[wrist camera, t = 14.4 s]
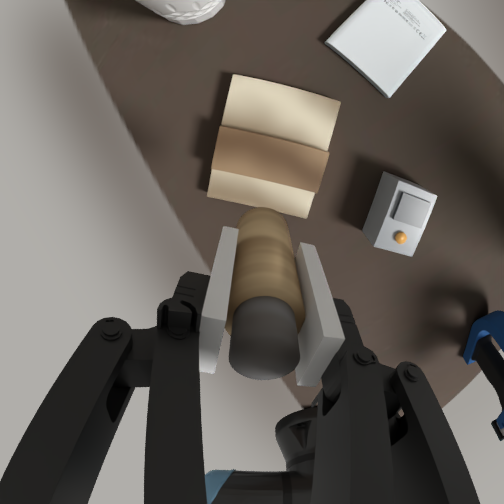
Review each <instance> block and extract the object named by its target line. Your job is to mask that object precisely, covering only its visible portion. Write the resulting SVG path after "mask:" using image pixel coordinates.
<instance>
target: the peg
mask: <svg viewBox="0 0 504 504" xmlns="http://www.w3.org/2000/svg"><path fill="white" fill-rule="evenodd" d="M236 229H239V231H238V238H237V245H236V252H235V259H234V266H233V274H232V281H231V288H230V296H229V303H228V311H227V318H226V324H225V329H226V331H227V332H228V334H229V335H230V336H231V340H230V350H229V362H230V364H231V366H232V368H234V370H235V371H236V372H238V373H239V374H241V375H243V376H245V377H248V378H251V379H258V380H270V379H276V378H280V377H283V376H285V375H287V374H289V373H290V372H292V371H293V370H294V369H295V368H296V367H297V365H298V364H299V361H300V350H299V342H298V334H299V332H300V330H301V328H302V325H303V323H304V321H305V310H304V304H303V299H302V294H301V289H300V284H299V278H298V273H297V268H296V263H295V258H294V254H293V249H292V244H291V239H290V234H289V230H288V225H287V222H286V220H285V219H284V217H283V216H282V215H281V214H280V213H279V212H277V211H276V210H274V209H271V208H267V207H258V208H254V209H251V210H249V211H247V212H246V213H245V214H243V215H242V216H241V218H240V219H239V221H238V223H237V227H236Z"/></svg>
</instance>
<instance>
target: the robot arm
mask: <svg viewBox="0 0 504 504" xmlns="http://www.w3.org/2000/svg"><path fill="white" fill-rule="evenodd" d="M238 231H239V229H235V228H230V227H226V226H223V230H222V234H221V237H220V241H219V245H218V249H217V253H216V257H215V261H214V265H213V269H212V273H211V276H208V275H204V274H198V273H194V272H189V271H188V272H186V273H185V274H184V275H183V276H181V277H180V280H179V282H178V285H177V287H176V290H175V293H174V295H173V297H172V298H170V299H166V300H164V301H163V302H162V303H160V305H159V307H158V309H157V326H155V327H153V328H149V329H131V327H130V326H129V324H128V323H127V322H126V321H124V320H121V319H120V318H114V317H109V318H103V319H101V320H99V321H97V322H96V323H95V324H94V325H93V326H92V328H91V329H90V330H89V332H88V333H87V335H86V336H85V338H84V339H83V340H82V342H81V343H80V345H79V346H78V348H77V349H76V351H75V352H74V354H73V355H72V357H71V358H70V359H69V361H68V363H67V364H66V366H65V367H64V369H63V370H62V372H61V373H60V375H59V376H58V378H57V380H56V381H55V383H54V384H53V386H52V387H51V389H50V391H49V392H48V394H47V395H46V397H45V399H44V400H43V402H42V404H41V405H40V407H39V409H38V410H37V412H36V414H35V416H34V418H33V419H32V421H31V423H30V424H29V426H28V428H27V430H26V432H25V433H24V435H23V437H22V439H21V441H20V443H19V444H18V446H17V448H16V450H15V452H14V454H13V456H12V458H11V460H10V462H9V464H8V466H7V468H6V470H5V472H4V474H3V477H2V479H1V481H0V504H88V501H89V498H90V496H91V493H92V490H93V488H94V485H95V482H96V480H97V477H98V475H99V472H100V470H101V467H102V465H103V462H104V459H105V457H106V455H107V452H108V449H109V447H110V445H111V442H112V440H113V438H114V435H115V433H116V431H117V428H118V426H119V423H120V421H121V419H122V416H123V414H124V412H125V410H126V407H127V405H128V403H129V400H130V398H131V396H132V394H133V391H134V389H135V387H150V390H149V401H148V413H147V427H146V443H145V444H146V445H145V468H144V469H145V470H144V504H480V502H479V499H478V496H477V493H476V490H475V487H474V485H473V482H472V479H471V477H470V474H469V471H468V469H467V466H466V464H465V461H464V459H463V456H462V454H461V451H460V449H459V446H458V444H457V442H456V440H455V437H454V435H453V433H452V430H451V428H450V426H449V424H448V422H447V419H446V417H445V415H444V413H443V411H442V409H441V407H440V405H439V403H438V400H437V398H436V396H435V394H434V392H433V390H432V388H431V386H430V384H429V382H428V381H427V379H426V377H425V375H424V373H423V372H422V370H421V369H420V368H419V367H418V366H417V365H415V364H413V363H411V362H406V361H405V362H401V363H400V364H399V365H398V366H397V367H396V369H394V368H391V367H388V366H385V365H382V364H380V363H379V361H378V359H377V356H376V355H375V354H374V353H373V351H371V350H370V349H368V348H366V347H364V346H363V343H362V340H361V337H360V334H359V331H358V328H357V326H356V325H355V320H354V318H353V315H352V312H351V309H350V307H349V306H348V305H347V304H346V303H345V302H344V300H341V299H335V298H332V295H331V292H330V289H329V286H328V283H327V280H326V277H325V274H324V271H323V268H322V265H321V263H320V260H319V257H318V254H317V251H316V248H315V245H310V244H305V243H301V242H300V245H299V248H298V251H297V254H296V257H295V263H296V268H297V273H298V278H299V284H300V289H301V294H302V299H303V304H304V310H305V321H304V323H303V325H302V328H301V330H300V332H299V334H298V342H299V350H300V361H299V364H298V365H297V367H296V368H295V371H296V380H297V385H299V386H310V387H316V386H317V384H318V382H319V381H320V379H322V384H323V388H322V389H321V391H320V392H319V393H318V395H317V396H316V398H315V399H314V401H313V402H312V405H311V407H313V408H308V409H303V410H300V411H297V412H294V413H291V414H289V415H287V416H285V417H284V418H282V419H281V420H280V421H279V422H278V423H277V425H276V428H275V429H276V430H275V432H276V440H277V442H278V445H279V447H280V449H281V451H282V454H283V456H284V458H285V460H286V468H287V469H286V470H287V471H284V472H282V471H281V472H280V471H279V472H257V471H256V472H255V471H236V470H234V469H233V470H212V471H209V472H208V473H207V474H206V475H205V473H204V460H203V444H202V427H201V405H200V374H199V371H201V372H206V373H212V374H214V372H215V368H216V363H217V358H218V354H219V350H220V345H221V341H222V337H223V332H224V328H225V324H226V318H227V311H228V303H229V296H230V288H231V281H232V274H233V266H234V259H235V252H236V245H237V238H238ZM317 402H318V407H314V406H315V405H316V403H317ZM401 409H402V410H403V412H404V415H403V416H402V417H400V415H399V414H398V412H399V411H400V410H401Z"/></svg>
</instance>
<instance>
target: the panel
mask: <svg viewBox="0 0 504 504" xmlns="http://www.w3.org/2000/svg"><path fill="white" fill-rule="evenodd" d="M340 103H341V102H339V101H336V100H333V99H330V98H327V97H324V96H321V95H318V94H314V93H311V92H307V91H304V90H300V89H297V88H293V87H289V86H285V85H281V84H277V83H273V82H269V81H265V80H260V79H255V78H251V77H246V76H240V75H235V74H233V77H232V81H231V85H230V89H229V93H228V98H227V102H226V106H225V111H224V115H223V120H222V124H221V126H220V128H219V132H218V137H217V142H216V146H215V151H214V156H213V161H212V166H211V169H212V172H211V177H210V183H209V188H208V193H207V196H208V197H213V198H217V199H222V200H227V201H232V202H236V203H241V204H246V205H250V206H255V207H267V208H271V209H274V210H276V211H277V212H281V213H285V214H289V215H294V216H298V217H302V218H306V219H307V216H308V213H309V210H310V206H311V203H312V200H313V197H314V194H315V193H318V190H319V187H320V183H321V180H322V177H323V173H324V170H325V167H326V163H327V160H328V157H329V152H327V150H328V147H329V143H330V140H331V136H332V133H333V129H334V125H335V122H336V118H337V115H338V111H339V107H340Z"/></svg>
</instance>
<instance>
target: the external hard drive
mask: <svg viewBox="0 0 504 504" xmlns="http://www.w3.org/2000/svg"><path fill="white" fill-rule="evenodd" d="M445 32H446V28H445V27H444V26H443V25H442V24H441V22H440V21H439V20H438V19H437V18H436V17H435V16H434V15H433V14H432V13H431V12H430V11H429V10H428V9H427V8H426V7H425V6H424V5H423V4H422V3H421V2H420V1H419V0H366V1H365V2H364V3H363V4H362V5H361V6H360V7H359V8H358V9H357V10H356V11H355V12H354V13H352V14H351V15H350V16H349V17H348V18H347V19H346V21H345V22H344V23H343V24H342V25H341V26H340V27H339V28H338V29H337V30H336V31H335V32H334V33H333V34H332V35H331V36H330V37H329V38H328V39H327V40H326V41H325V44H326V45H327V46H328V47H330V48H331V49H332V50H334V51H335V52H336V53H337V54H338V55H340V56H341V57H342V58H343V59H344V60H346V61H347V62H348V63H349V64H350V65H352V66H353V67H354V68H355V69H356V70H357V71H358V72H359V73H361V74H362V75H363V76H364V77H365V78H366V79H367V80H368V81H369V82H370V83H371V84H372V85H373V86H375V87H376V88H377V89H378V90H379V91H380V92H381V93H382V94H383V95H384V96H385V97H386V98H390V97H391V96H392V94H393V93H394V92H395V91H396V90H397V89H398V87H399V86H400V85H401V84H402V83H403V81H404V80H405V79H406V78H407V77H408V75H409V74H410V73H411V72H412V71H413V70H414V68H415V67H416V66H417V65H418V64H419V62H420V61H421V60H422V59H423V58H424V56H425V55H426V54H427V53H428V52H429V51H430V49H431V48H432V47H433V46H434V45H435V43H436V42H437V41H438V40H439V39H440V37H441V36H442V35H443V34H444V33H445Z"/></svg>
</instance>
